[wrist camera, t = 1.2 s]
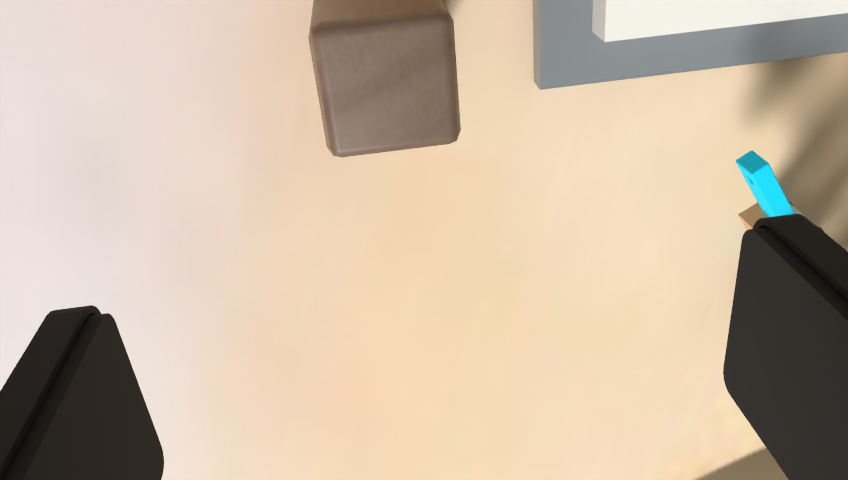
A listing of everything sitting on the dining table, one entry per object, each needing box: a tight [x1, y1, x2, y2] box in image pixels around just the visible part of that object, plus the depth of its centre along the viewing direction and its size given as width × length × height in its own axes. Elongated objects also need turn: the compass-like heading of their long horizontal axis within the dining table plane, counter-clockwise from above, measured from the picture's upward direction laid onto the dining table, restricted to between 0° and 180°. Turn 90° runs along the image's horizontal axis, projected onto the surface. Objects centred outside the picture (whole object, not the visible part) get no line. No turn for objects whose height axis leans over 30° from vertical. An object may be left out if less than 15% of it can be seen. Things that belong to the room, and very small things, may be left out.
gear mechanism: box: [736, 151, 824, 232], centre depth 31 cm, size 20×5×9 cm, turn 36°
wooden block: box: [309, 0, 461, 157], centre depth 24 cm, size 4×4×8 cm
